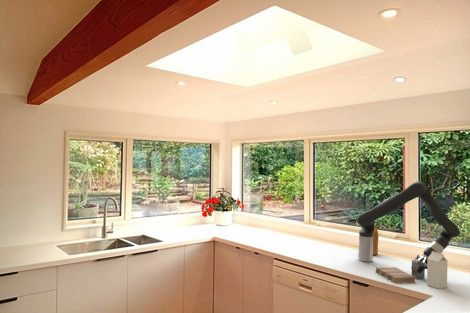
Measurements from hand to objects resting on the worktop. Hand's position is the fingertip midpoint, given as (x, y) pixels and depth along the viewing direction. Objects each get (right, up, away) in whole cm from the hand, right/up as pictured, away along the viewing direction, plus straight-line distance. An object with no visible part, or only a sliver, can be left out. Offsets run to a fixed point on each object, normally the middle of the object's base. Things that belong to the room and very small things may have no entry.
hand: (415, 270), depth 214 cm
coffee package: (-6, -6, +58) cm, 58 cm away
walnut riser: (-12, -4, 0) cm, 13 cm away
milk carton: (+5, -4, -15) cm, 16 cm away
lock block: (+2, -4, 0) cm, 5 cm away
